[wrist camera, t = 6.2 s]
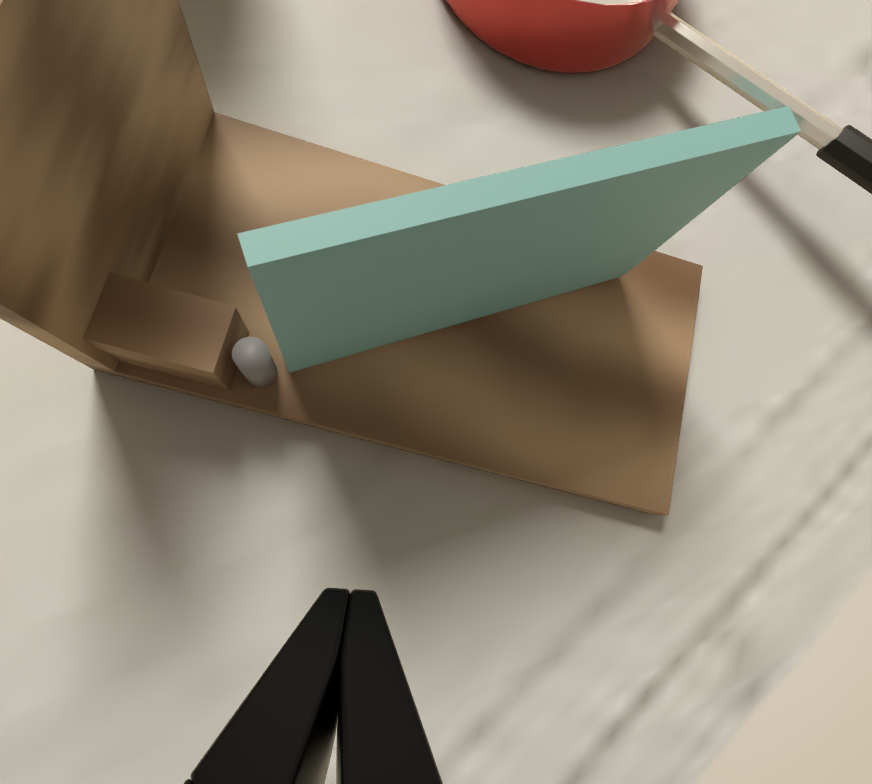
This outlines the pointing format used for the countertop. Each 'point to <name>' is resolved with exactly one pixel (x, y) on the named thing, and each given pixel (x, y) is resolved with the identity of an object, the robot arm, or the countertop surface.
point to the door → (486, 241)
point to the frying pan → (629, 33)
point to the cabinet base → (235, 290)
